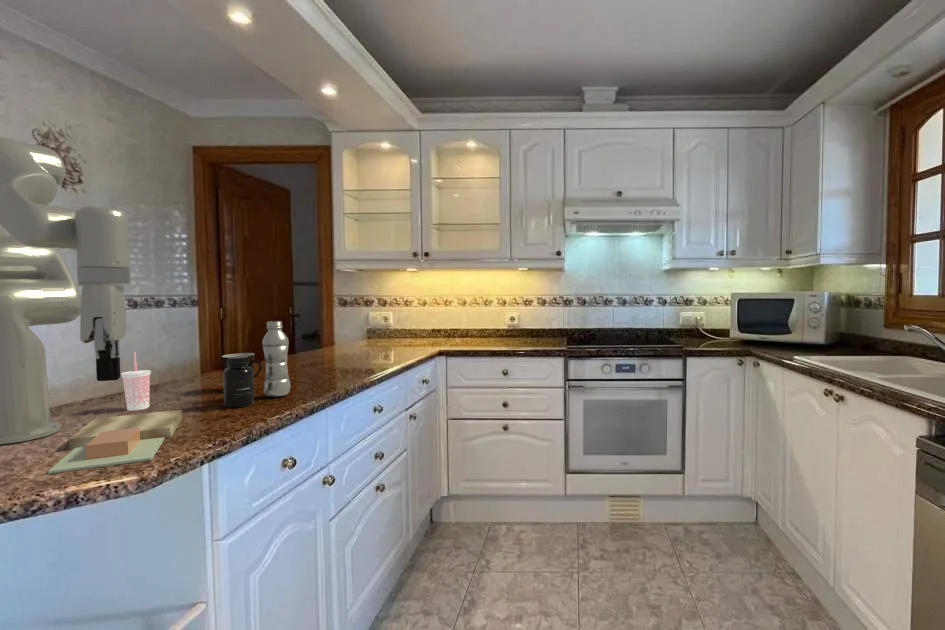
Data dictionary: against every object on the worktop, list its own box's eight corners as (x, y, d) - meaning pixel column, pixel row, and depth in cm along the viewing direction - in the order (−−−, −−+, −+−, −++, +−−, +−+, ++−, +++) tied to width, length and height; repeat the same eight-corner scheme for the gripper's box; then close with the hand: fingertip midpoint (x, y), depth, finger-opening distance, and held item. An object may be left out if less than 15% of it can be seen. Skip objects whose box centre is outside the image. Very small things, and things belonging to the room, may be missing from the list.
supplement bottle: (242, 408, 120) (240, 359, 119) (218, 408, 121) (215, 359, 120) (260, 402, 126) (258, 355, 126) (236, 401, 128) (234, 355, 127)
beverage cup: (158, 404, 126) (154, 349, 125) (143, 410, 120) (140, 353, 119) (133, 405, 126) (129, 350, 125) (117, 411, 120) (113, 353, 119)
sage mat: (47, 474, 79) (47, 471, 79) (75, 450, 91) (75, 447, 91) (151, 460, 84) (151, 457, 84) (164, 439, 96) (164, 437, 96)
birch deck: (69, 450, 91) (68, 439, 91) (95, 427, 106) (94, 418, 105) (170, 437, 97) (170, 427, 97) (182, 418, 112) (181, 409, 112)
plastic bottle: (265, 395, 135) (261, 321, 134) (291, 392, 137) (288, 320, 136) (262, 400, 129) (259, 323, 128) (290, 397, 131) (287, 321, 130)
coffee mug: (219, 390, 143) (217, 355, 143) (249, 385, 149) (248, 352, 149) (233, 395, 135) (231, 359, 134) (265, 390, 141) (263, 355, 140)
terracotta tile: (86, 459, 84) (85, 445, 84) (102, 444, 92) (101, 431, 92) (128, 454, 86) (127, 440, 86) (140, 439, 95) (139, 427, 95)
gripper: (91, 277, 94) (95, 373, 95) (63, 277, 80) (68, 390, 82) (138, 278, 97) (142, 371, 98) (119, 278, 83) (123, 386, 85)
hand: (108, 379), depth 90 cm, fingers closed
